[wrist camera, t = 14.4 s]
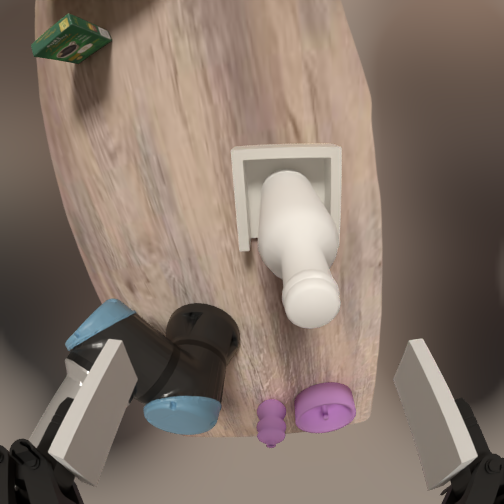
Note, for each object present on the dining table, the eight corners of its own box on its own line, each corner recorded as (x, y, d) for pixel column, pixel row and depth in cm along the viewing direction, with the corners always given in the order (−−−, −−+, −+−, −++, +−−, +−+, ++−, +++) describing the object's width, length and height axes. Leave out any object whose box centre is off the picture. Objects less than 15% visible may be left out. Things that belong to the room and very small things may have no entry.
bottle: (310, 217, 47) (359, 351, 20) (260, 216, 47) (251, 353, 20) (312, 168, 43) (383, 253, 16) (260, 166, 44) (250, 251, 17)
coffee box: (110, 28, 34) (67, 11, 22) (114, 40, 35) (71, 24, 24) (75, 53, 36) (29, 45, 24) (78, 64, 37) (32, 58, 25)
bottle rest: (331, 232, 49) (338, 247, 43) (242, 236, 50) (239, 251, 44) (332, 143, 42) (341, 147, 37) (235, 146, 43) (230, 150, 38)
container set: (354, 378, 65) (365, 420, 53) (348, 410, 71) (355, 448, 59) (254, 387, 67) (251, 432, 55) (260, 419, 73) (258, 458, 62)
